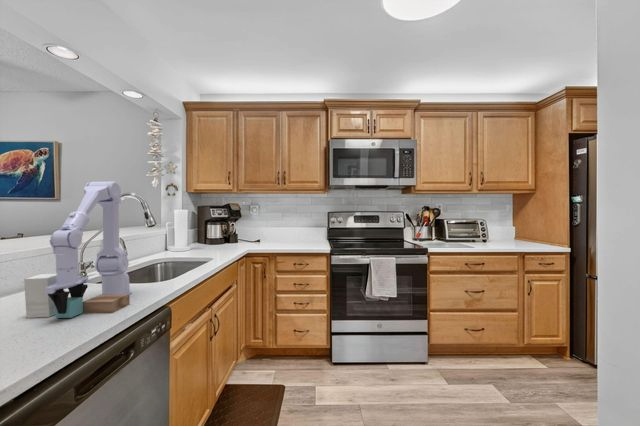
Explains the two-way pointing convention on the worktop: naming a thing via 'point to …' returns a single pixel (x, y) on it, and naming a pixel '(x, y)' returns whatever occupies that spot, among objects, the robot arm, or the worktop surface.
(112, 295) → the walnut block
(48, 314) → the supplement box
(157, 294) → the worktop surface
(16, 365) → the worktop surface
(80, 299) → the teal cube
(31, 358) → the worktop surface
